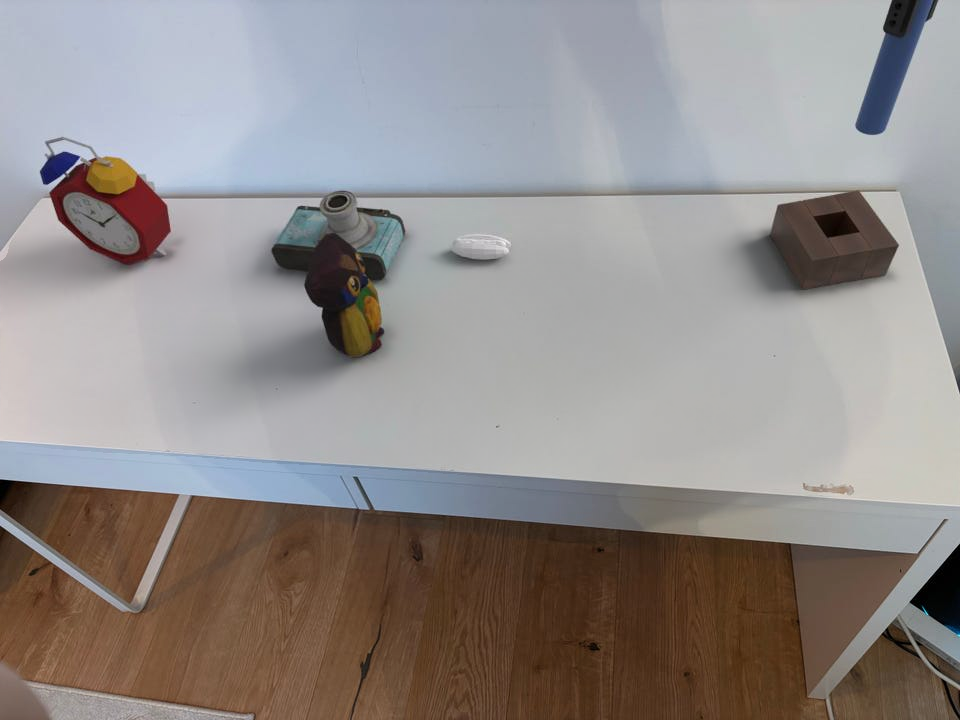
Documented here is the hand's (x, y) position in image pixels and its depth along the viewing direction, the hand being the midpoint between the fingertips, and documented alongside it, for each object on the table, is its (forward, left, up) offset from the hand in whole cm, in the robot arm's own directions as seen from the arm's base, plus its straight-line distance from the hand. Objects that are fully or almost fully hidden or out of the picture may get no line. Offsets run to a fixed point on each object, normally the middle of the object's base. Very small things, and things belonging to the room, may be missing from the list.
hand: (906, 25), depth 69 cm
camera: (+62, -17, -30) cm, 71 cm away
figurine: (+60, +1, -30) cm, 67 cm away
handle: (0, 0, -11) cm, 11 cm away
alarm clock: (+93, -26, -30) cm, 101 cm away
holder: (0, 0, -30) cm, 30 cm away
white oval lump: (+43, -11, -30) cm, 54 cm away
